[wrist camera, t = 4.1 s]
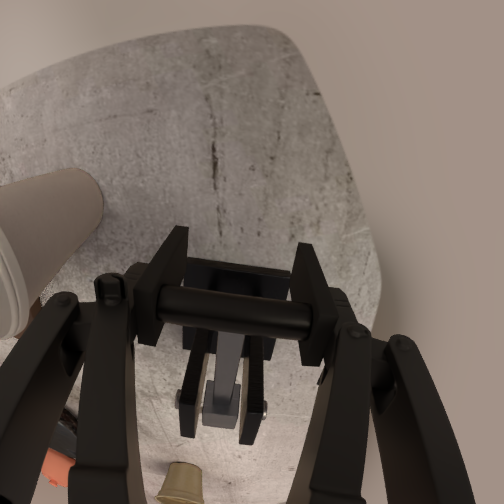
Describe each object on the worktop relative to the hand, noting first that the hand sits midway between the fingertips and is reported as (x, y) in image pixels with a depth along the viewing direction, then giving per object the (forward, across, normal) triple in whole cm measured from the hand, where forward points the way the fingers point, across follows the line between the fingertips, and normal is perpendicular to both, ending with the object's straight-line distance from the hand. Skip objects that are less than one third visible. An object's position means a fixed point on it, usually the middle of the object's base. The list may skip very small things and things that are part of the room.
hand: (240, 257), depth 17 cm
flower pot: (+8, -5, -50) cm, 51 cm away
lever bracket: (+8, 0, -10) cm, 12 cm away
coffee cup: (+8, -16, -1) cm, 18 cm away
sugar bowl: (+8, -40, -70) cm, 82 cm away
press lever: (-3, 0, -5) cm, 6 cm away
